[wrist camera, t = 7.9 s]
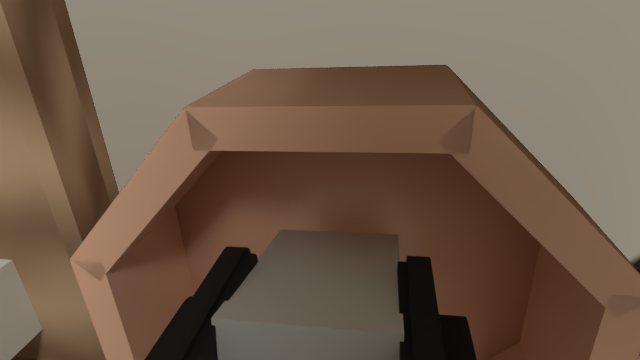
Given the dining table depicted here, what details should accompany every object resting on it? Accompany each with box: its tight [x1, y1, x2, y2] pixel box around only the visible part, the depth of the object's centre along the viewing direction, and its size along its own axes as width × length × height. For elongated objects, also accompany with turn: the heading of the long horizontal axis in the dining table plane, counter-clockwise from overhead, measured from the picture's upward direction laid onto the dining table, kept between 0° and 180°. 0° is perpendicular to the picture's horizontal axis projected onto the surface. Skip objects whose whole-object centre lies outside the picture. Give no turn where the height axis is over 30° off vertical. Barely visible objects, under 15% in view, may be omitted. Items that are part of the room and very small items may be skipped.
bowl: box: [70, 65, 640, 360], centre depth 13 cm, size 15×15×5 cm
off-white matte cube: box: [211, 229, 404, 360], centre depth 10 cm, size 4×4×5 cm
